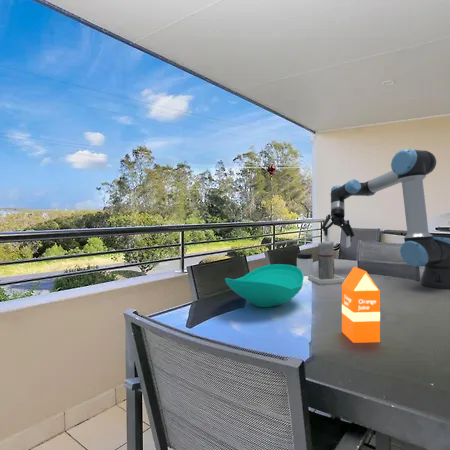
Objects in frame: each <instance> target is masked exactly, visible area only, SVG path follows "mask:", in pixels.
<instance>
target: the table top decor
mask: <svg viewBox="0 0 450 450" xmlns="http://www.w3.org/2000/svg"><path fill="white" fill-rule="evenodd" d="M304 277H305V276H303V273H302V271H301V270H300V269H299V268H298V267H297V265H296V266H295V265H292V264H283V263H282V264H281V263H277V264H276V263H275V264H267V265H262V266H259V267H257V268H255V269H253V270H251V271H250V272H248V273H247V274H245V275H244V276H241V277H239V278H235V279H233V278H229V277H226V278H224V280H225V284H226V285H227V286H228V288H230V290H231V291H233V292H234V293H235V294H237V295H238V296H239V297H241V298H243V299H244V300H246V301H248V302H249V303H251V304H253V305H254V306H256V307H260V308H271V307H276V306H279V305H282V304H284V303H288V302H290V301H291V300H292V299H293V298H294V297H295V296H297V294H299V292H300V291H301V290H302V288H303V285H304Z"/></svg>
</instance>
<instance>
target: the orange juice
mask: <svg viewBox="0 0 450 450" xmlns="http://www.w3.org/2000/svg"><path fill="white" fill-rule="evenodd" d="M380 298H381V291H380V289H379V288H378V286H377V284H375V282H374V281H373V279H372V278H371V277H370V275H369V273H368V272H367V271H366V270H364V269H361V268H359V267H357V266H353V267H352V269H351V270H350V272H349V273H348V275H347V277H346V278H345V281H344V282H343V284H341V332H342V334H343V335H345V336H346V338H348V339H349V340H350V341H351V342H352V343H354V344H355V343H380V342H381V337H380V336H381V331H380V330H381V299H380Z"/></svg>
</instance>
